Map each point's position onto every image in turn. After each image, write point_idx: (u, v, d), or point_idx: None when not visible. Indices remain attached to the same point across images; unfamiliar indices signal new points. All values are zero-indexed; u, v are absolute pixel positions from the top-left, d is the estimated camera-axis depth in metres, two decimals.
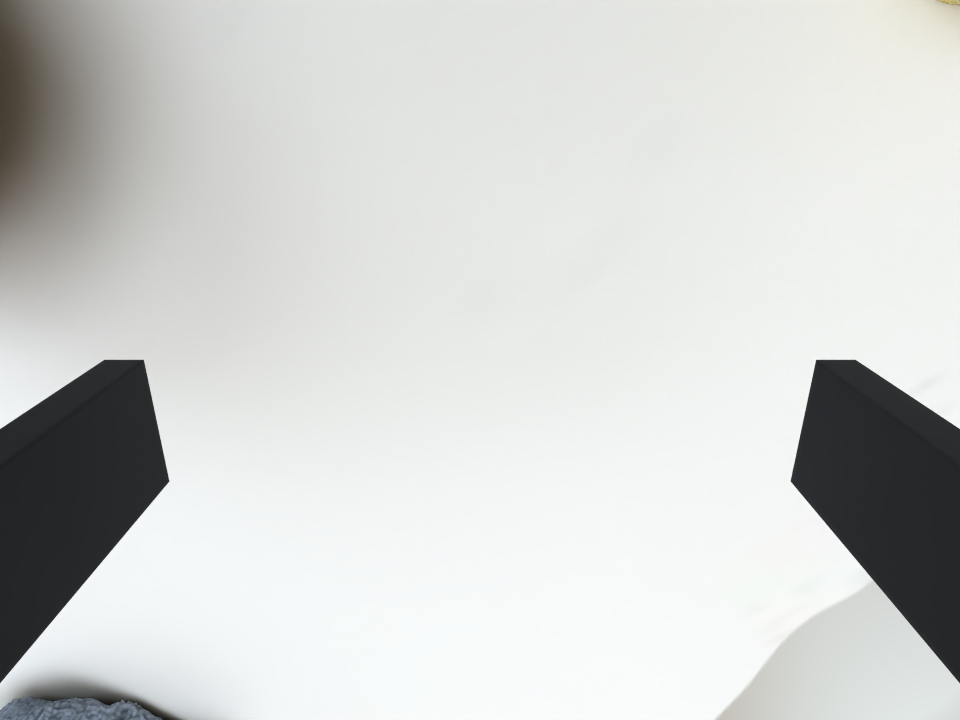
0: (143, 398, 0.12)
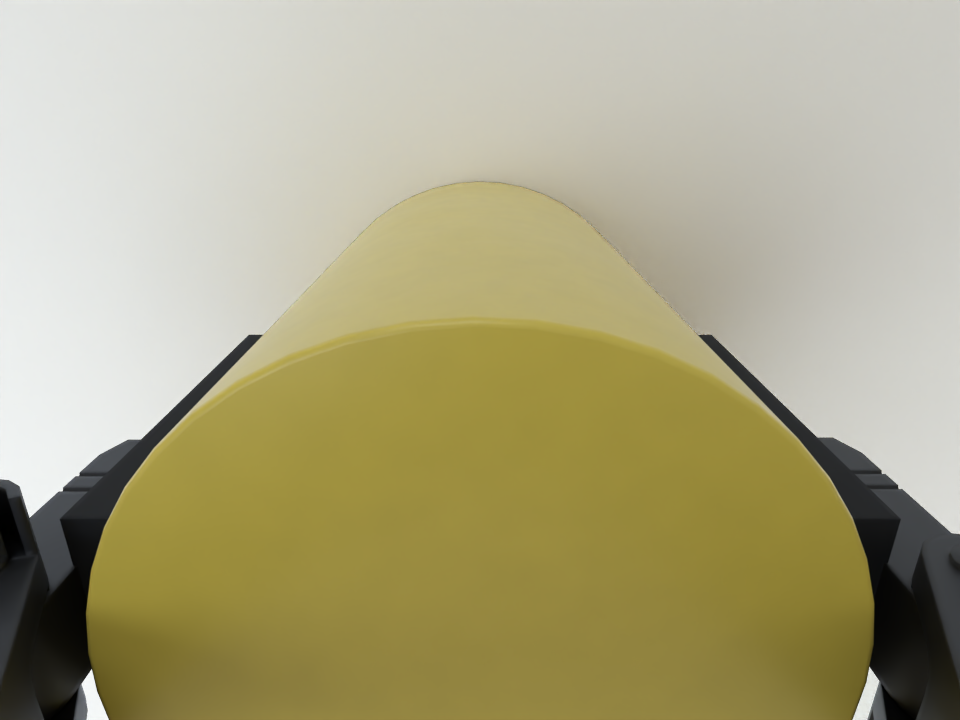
0: None
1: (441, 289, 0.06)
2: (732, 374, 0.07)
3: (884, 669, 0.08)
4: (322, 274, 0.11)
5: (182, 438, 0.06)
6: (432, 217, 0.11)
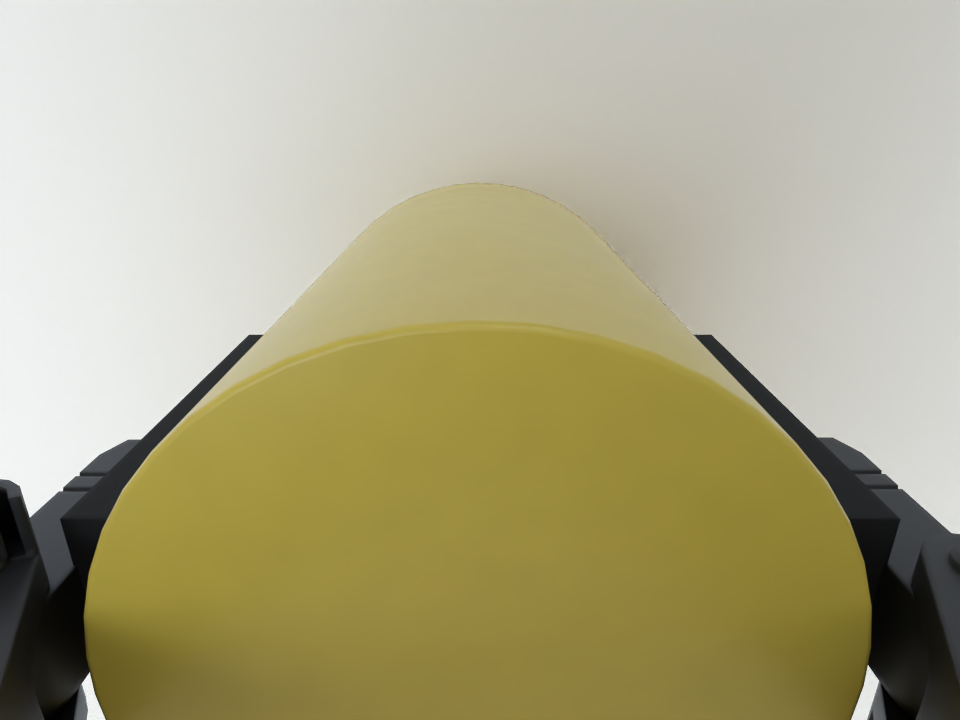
0: None
1: (439, 292, 0.06)
2: (730, 377, 0.07)
3: (884, 669, 0.08)
4: None
5: (180, 441, 0.06)
6: (431, 219, 0.11)
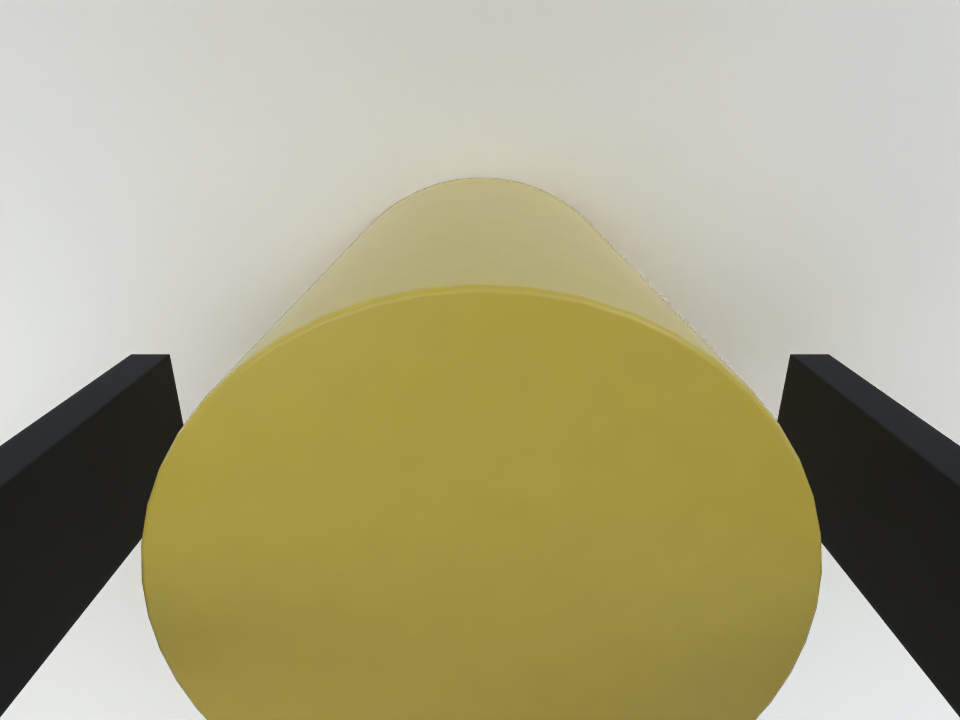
0: (169, 391, 0.12)
1: (448, 264, 0.07)
2: (699, 339, 0.08)
3: None
4: None
5: (229, 389, 0.07)
6: (437, 208, 0.12)
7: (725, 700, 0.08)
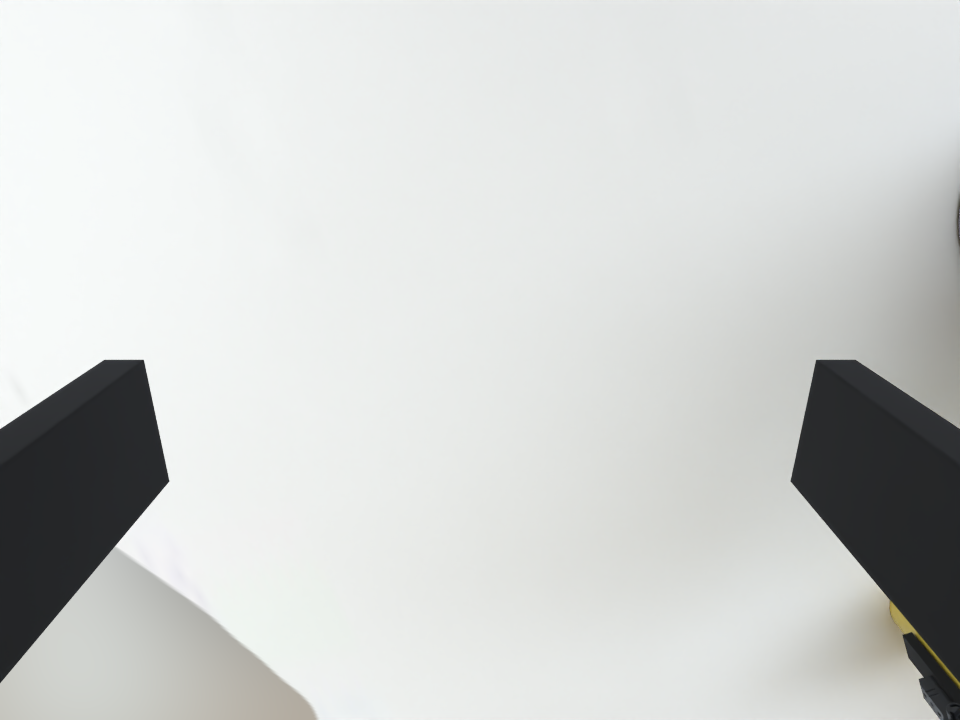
0: (143, 398, 0.12)
1: None
2: None
3: None
4: None
5: None
6: None
7: None
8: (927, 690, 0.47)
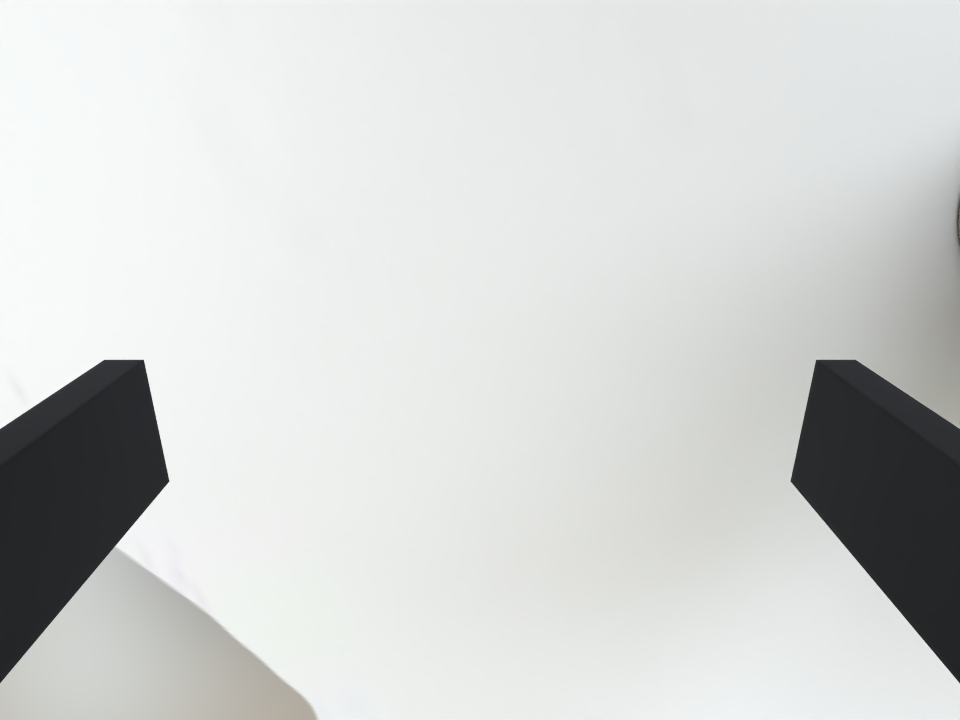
0: (143, 398, 0.12)
1: None
2: None
3: None
4: None
5: None
6: None
7: None
8: None
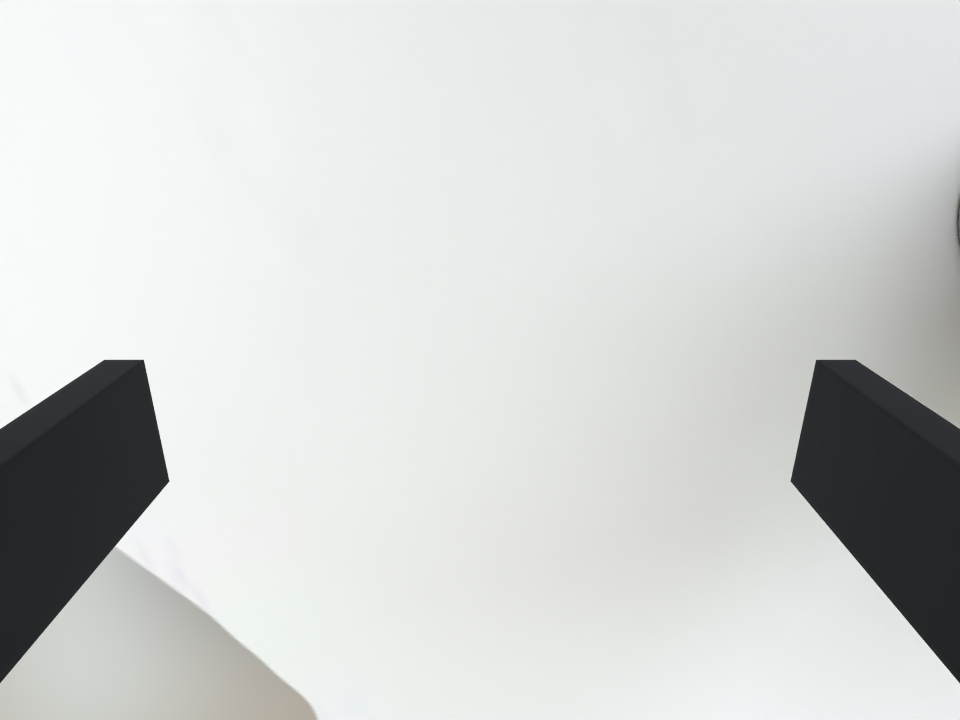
0: (143, 398, 0.12)
1: None
2: None
3: None
4: None
5: None
6: None
7: None
8: None
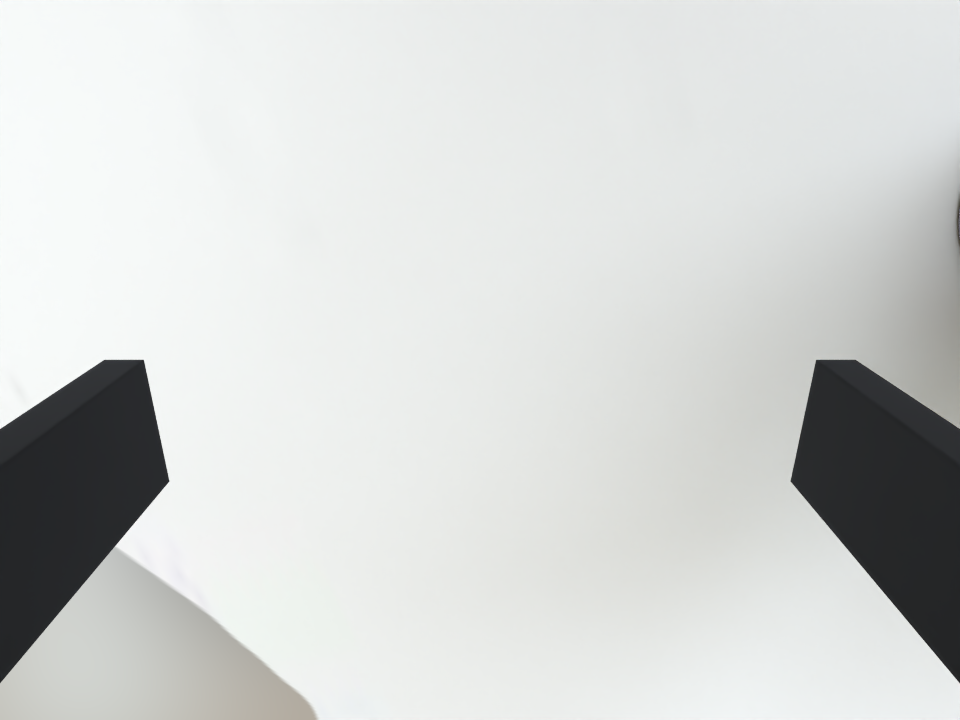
0: (143, 398, 0.12)
1: None
2: None
3: None
4: None
5: None
6: None
7: None
8: None
